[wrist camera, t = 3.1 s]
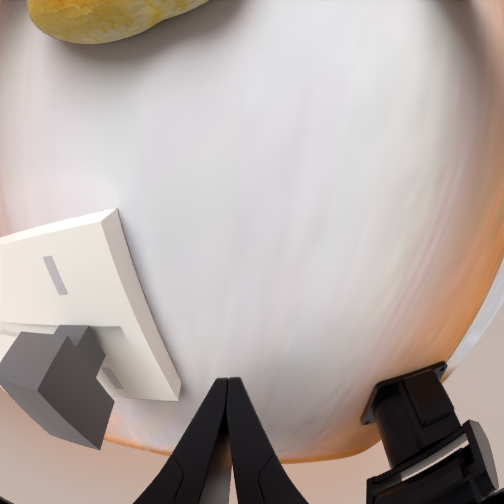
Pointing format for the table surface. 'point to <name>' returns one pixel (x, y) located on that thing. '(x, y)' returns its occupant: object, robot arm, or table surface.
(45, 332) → the fader panel
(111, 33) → the bread roll
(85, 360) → the fader knob
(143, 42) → the table surface
